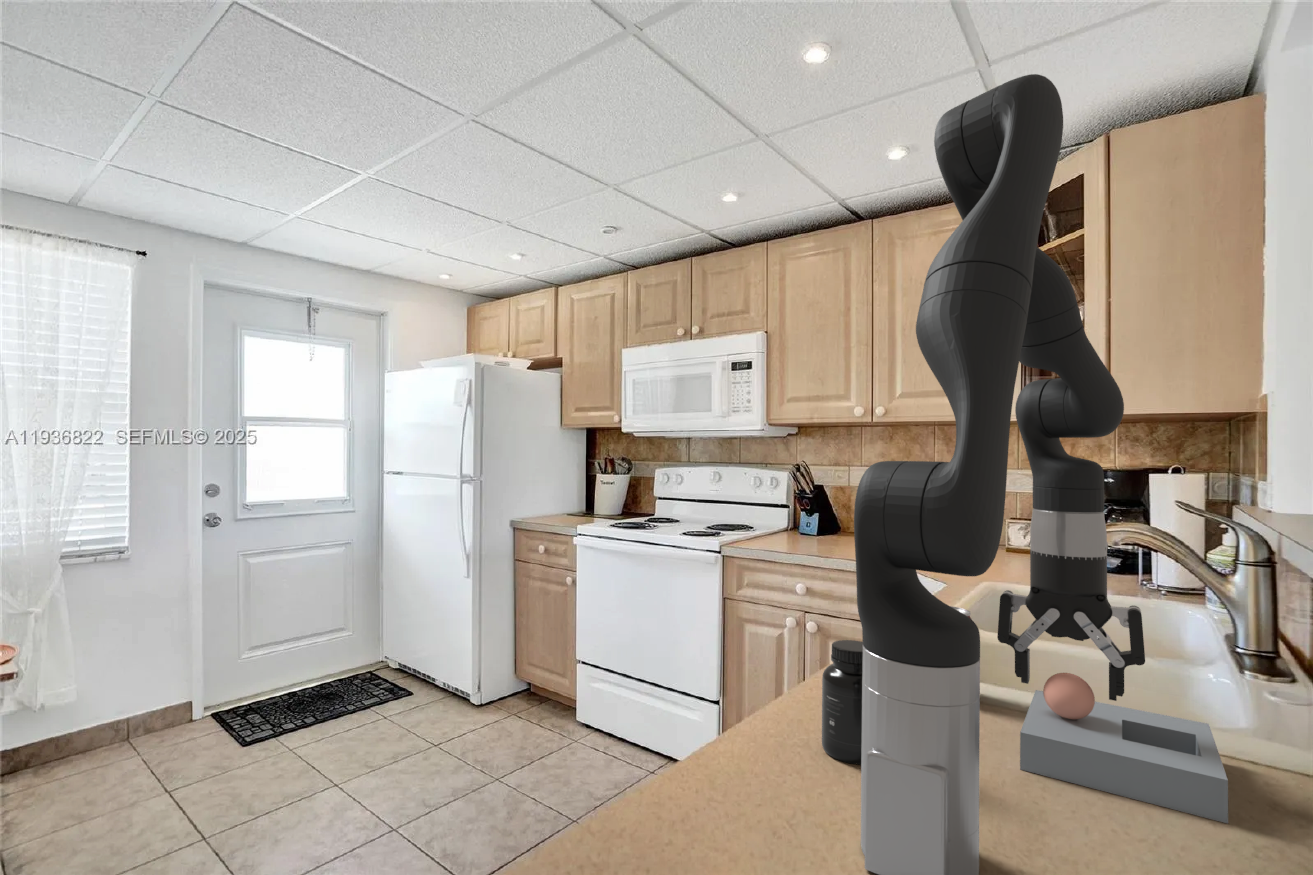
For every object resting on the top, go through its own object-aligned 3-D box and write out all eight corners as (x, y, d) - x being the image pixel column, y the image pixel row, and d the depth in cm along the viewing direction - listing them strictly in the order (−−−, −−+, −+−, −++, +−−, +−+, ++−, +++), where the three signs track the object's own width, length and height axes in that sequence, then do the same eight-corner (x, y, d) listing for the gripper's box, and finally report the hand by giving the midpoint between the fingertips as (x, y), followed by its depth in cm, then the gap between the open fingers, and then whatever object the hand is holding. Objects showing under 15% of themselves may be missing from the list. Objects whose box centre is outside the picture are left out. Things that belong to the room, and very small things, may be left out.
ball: (1094, 730, 71) (1094, 684, 71) (1041, 719, 74) (1041, 675, 74) (1095, 716, 75) (1095, 672, 75) (1045, 705, 78) (1045, 663, 78)
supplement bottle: (809, 742, 76) (811, 639, 76) (858, 735, 78) (859, 635, 78) (845, 770, 69) (846, 657, 70) (897, 760, 72) (898, 651, 72)
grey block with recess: (1228, 823, 60) (1227, 780, 60) (1020, 769, 70) (1020, 732, 70) (1209, 759, 73) (1208, 723, 73) (1035, 721, 83) (1035, 689, 83)
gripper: (994, 547, 76) (994, 686, 76) (1145, 560, 68) (1146, 715, 68) (1003, 540, 82) (1003, 668, 82) (1143, 551, 74) (1143, 693, 74)
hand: (1067, 689), depth 75 cm, fingers open, 8 cm apart
